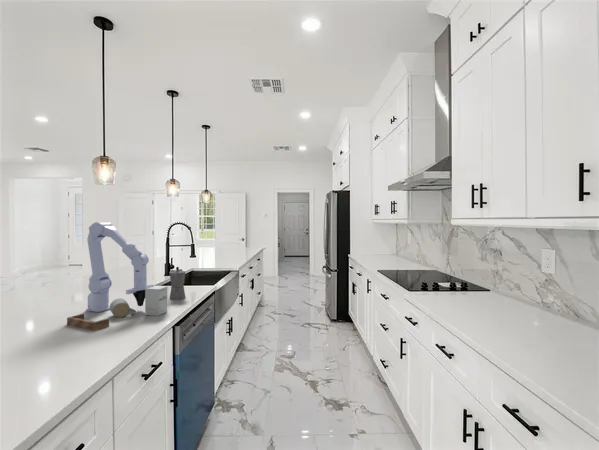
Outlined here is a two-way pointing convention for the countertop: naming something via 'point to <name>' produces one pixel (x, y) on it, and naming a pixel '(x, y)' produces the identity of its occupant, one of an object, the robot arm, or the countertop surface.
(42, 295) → the countertop surface
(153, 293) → the supplement box
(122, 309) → the ceramic mug
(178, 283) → the coffeepot
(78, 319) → the rail
